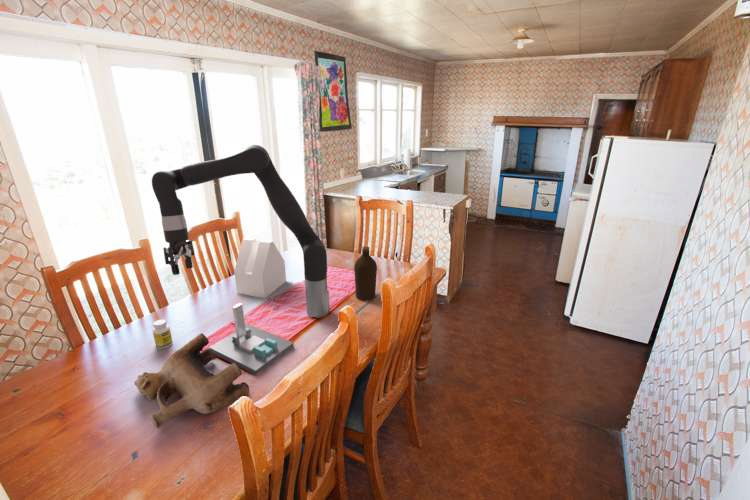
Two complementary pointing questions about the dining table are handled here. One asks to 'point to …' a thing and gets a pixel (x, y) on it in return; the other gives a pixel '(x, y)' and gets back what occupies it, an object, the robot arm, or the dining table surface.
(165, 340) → the supplement bottle
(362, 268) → the olive oil
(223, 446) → the dining table surface
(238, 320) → the latch lever
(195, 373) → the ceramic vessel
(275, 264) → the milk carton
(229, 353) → the base plate
